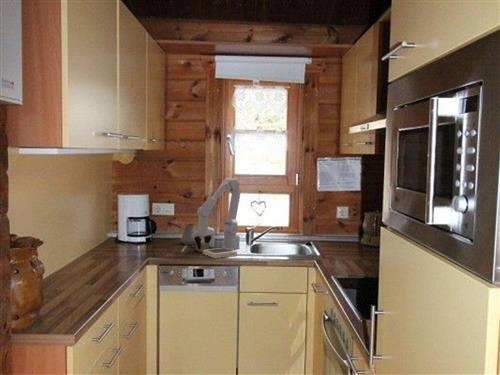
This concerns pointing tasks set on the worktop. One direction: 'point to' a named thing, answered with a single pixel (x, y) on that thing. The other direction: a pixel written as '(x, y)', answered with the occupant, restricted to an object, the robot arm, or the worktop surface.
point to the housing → (203, 246)
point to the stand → (220, 252)
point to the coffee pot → (187, 234)
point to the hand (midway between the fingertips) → (202, 248)
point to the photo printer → (210, 230)
